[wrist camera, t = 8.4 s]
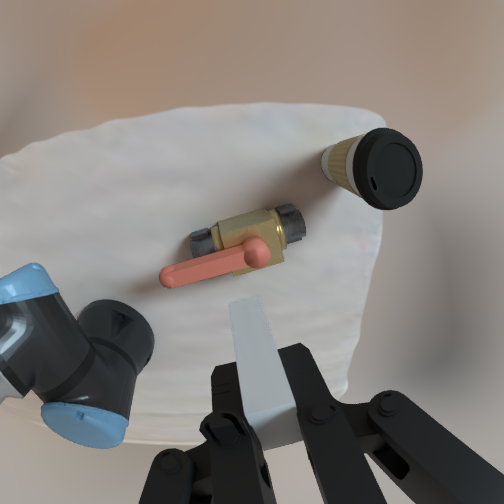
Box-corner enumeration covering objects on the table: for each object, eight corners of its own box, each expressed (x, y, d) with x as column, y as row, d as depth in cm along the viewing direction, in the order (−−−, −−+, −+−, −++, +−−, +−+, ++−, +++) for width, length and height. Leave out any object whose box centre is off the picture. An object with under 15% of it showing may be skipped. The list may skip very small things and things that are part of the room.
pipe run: (201, 265, 42) (200, 286, 35) (189, 229, 40) (185, 245, 33) (298, 236, 43) (315, 251, 36) (290, 200, 41) (307, 209, 34)
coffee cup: (372, 178, 41) (433, 192, 27) (325, 204, 42) (378, 228, 28) (350, 124, 38) (410, 116, 24) (299, 147, 38) (347, 145, 24)
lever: (262, 233, 34) (267, 240, 32) (268, 256, 35) (273, 264, 33) (157, 264, 33) (153, 273, 31) (165, 285, 35) (162, 296, 32)
